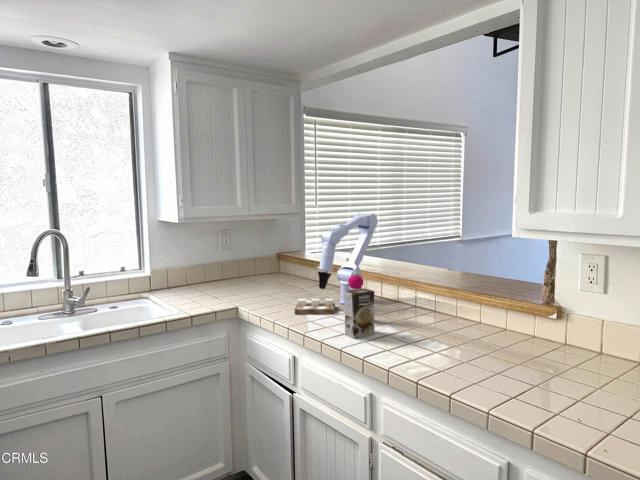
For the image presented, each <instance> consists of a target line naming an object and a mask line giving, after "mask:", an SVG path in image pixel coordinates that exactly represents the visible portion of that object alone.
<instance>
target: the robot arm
mask: <svg viewBox="0 0 640 480" xmlns="http://www.w3.org/2000/svg"><path fill="white" fill-rule="evenodd" d="M378 224H379V223H378V218H377V215H376V214H375V213H360V212H359V213H356V214H354V215H353V217H352V218H350V220H348V221H347V222H346V223H338V224H337V226H335V227H333V228H330V230H329V231H325V232H324V233H323V234H322V235H321V236H320V239H321V247H322V248H321V255H320V261H319V266H316V269H320V270H321V271H317V275H318V280H319V282H318V285H319V287H318V289H320V290H325V289H326V287H327V284H328V282H329V279H330V278H331V276H332V273H329V271H330V272H332V271H333V264H334V261H335V260H334V259H335V254H336V253H335V252H336V248H337V245H338V244H339V243H340V241H341V240H342V239H343V238H344V237H346V236H347V235H349V233H350V231H351V230H352V229H354V228H357V230H358V232H359V233H360V236H359V237H358V240H357V242H356V244H355V245H354V247H353V250H352V253H351V255H350V256H349V259H348V261H347V262H346V263H344V264H342V265H341V267H340V268H339V269H338V270H337V272H336V279H337V280H338V281H339V284H340V299H339V304H340V305H345V291H349V290H350V286H349V284H348V280H349V278H350V277H351V276H354V274H353V273H354V272H358V276H360V277H361V272H362V270H361V268H360V264H361V262H362V260H363V257H364V255H365V254H366V252H367V249H368V247H369V245H370V243H371V241H372V238H373V237H374V232H375V231H376V228H377V225H378Z"/></svg>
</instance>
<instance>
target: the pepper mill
mask: <svg viewBox="0 0 640 480" xmlns="http://www.w3.org/2000/svg"><path fill="white" fill-rule="evenodd" d="M353 274H354V276H351V277H350V278H349V280H348V284H349V286H350V290H357V289H363V287H362V286H363V285H364V278H363V277H362V276H361V275H360V276H358V272H354V273H353Z"/></svg>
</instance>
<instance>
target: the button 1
mask: <svg viewBox="0 0 640 480" xmlns="http://www.w3.org/2000/svg"><path fill="white" fill-rule="evenodd" d="M297 303H298V306H306V303H307V299H306V298H298V299H297Z"/></svg>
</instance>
